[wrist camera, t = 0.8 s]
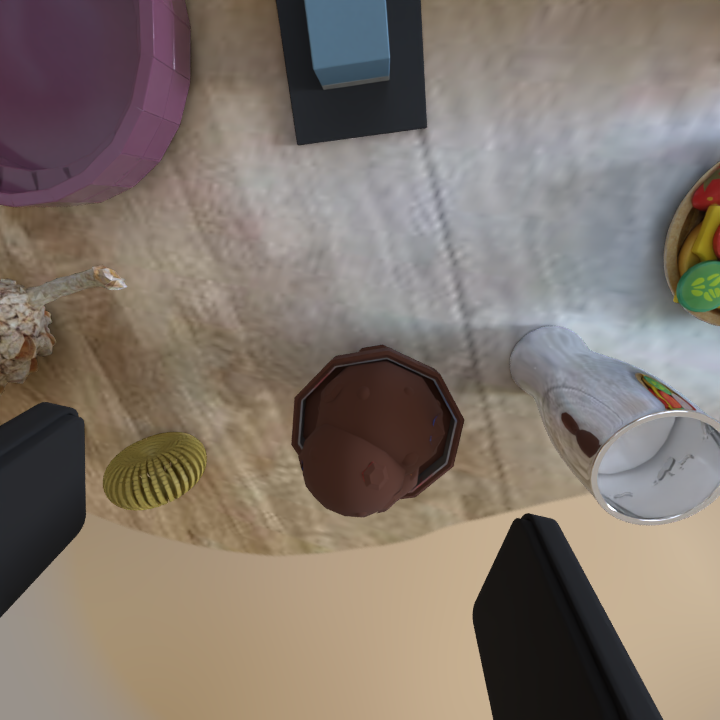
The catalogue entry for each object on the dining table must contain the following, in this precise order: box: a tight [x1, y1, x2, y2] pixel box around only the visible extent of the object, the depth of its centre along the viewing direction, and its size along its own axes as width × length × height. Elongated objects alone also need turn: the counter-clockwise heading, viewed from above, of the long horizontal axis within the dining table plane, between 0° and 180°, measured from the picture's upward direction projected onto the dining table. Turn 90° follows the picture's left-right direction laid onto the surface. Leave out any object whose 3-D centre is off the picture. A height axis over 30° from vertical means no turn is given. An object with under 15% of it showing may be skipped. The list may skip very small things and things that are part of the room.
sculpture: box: [103, 432, 207, 510], centre depth 35 cm, size 8×4×8 cm, turn 100°
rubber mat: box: [276, 0, 427, 145], centre depth 26 cm, size 14×9×1 cm, turn 6°
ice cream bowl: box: [291, 345, 464, 517], centre depth 28 cm, size 11×11×15 cm
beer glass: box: [510, 326, 720, 525], centre depth 27 cm, size 7×7×15 cm
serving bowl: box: [0, 0, 191, 207], centre depth 25 cm, size 22×22×6 cm
